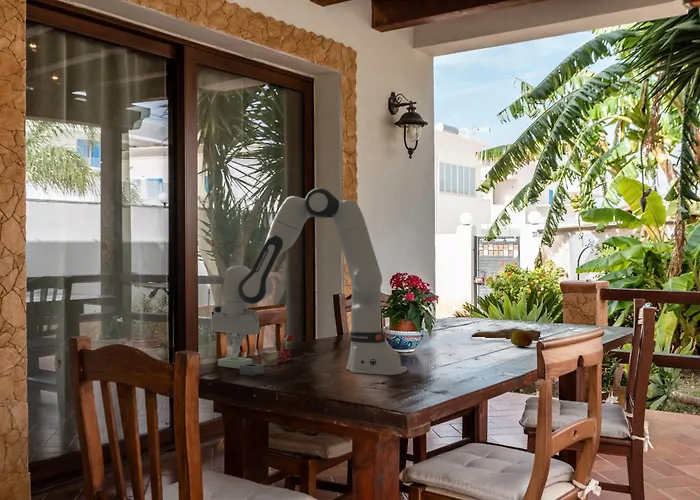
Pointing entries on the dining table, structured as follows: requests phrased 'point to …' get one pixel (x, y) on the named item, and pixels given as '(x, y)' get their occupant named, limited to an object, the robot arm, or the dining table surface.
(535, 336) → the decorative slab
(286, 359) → the toy fire truck
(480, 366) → the dining table surface
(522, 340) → the fruit
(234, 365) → the tray
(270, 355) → the block
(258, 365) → the socket block
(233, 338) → the pin
